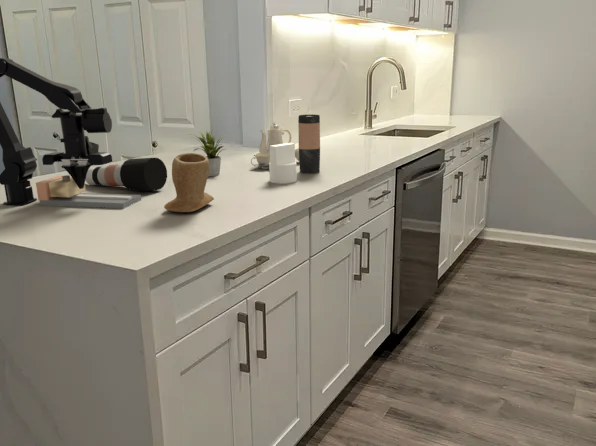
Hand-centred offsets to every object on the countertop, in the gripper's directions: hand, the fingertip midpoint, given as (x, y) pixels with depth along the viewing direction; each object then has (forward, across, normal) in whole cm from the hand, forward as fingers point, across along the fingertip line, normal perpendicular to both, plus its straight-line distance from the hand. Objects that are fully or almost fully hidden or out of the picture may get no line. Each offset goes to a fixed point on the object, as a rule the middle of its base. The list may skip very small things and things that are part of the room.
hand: (81, 188), depth 155 cm
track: (+4, -2, 0) cm, 5 cm away
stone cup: (+5, -34, +2) cm, 35 cm away
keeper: (+2, +4, 0) cm, 5 cm away
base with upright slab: (+5, -50, -37) cm, 63 cm away
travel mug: (+5, -56, -53) cm, 78 cm away
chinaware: (+5, -42, -68) cm, 80 cm away
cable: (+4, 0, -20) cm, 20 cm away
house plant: (+5, -22, -44) cm, 49 cm away
